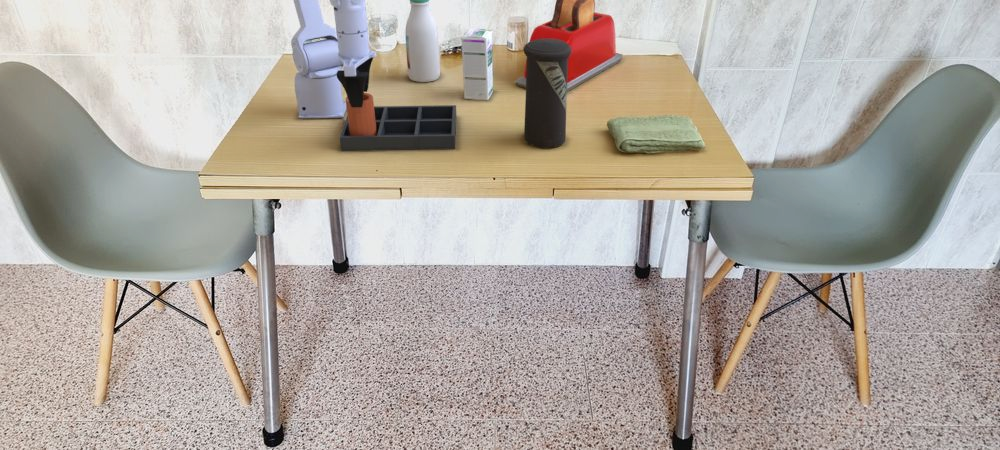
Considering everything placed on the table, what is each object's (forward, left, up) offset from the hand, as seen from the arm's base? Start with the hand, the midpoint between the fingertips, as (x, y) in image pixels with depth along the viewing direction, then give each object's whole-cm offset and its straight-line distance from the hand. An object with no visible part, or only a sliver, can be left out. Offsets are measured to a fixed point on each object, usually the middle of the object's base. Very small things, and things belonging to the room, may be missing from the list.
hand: (359, 98), depth 141 cm
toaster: (+46, +37, -9) cm, 60 cm away
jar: (0, 0, -9) cm, 9 cm away
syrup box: (+23, +23, -9) cm, 34 cm away
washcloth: (+58, -2, -9) cm, 59 cm away
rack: (+7, +3, -9) cm, 12 cm away
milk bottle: (+10, +35, -9) cm, 38 cm away
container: (+36, -1, -9) cm, 37 cm away
